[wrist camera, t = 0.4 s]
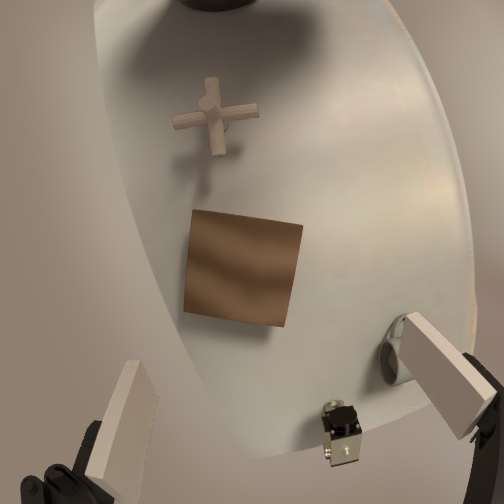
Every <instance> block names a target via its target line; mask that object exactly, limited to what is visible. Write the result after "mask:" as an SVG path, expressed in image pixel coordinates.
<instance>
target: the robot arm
mask: <svg viewBox="0 0 504 504" xmlns="http://www.w3.org/2000/svg"><path fill="white" fill-rule="evenodd" d="M252 1H254V0H181V2H182V3H183V4H185V5H186V6H188V7H190V8H193V9H196V10H201V11H224V10H230V9H234V8H238V7H241V6H244V5H246V4H248V3H250V2H252ZM398 357H399V359H400V360H401V361H402V362H403V364H404V365H405V366H406V368H407V369H408V370H409V372H410V373H411V374H412V376H413V377H414V378H415V380H416V381H417V382H418V384H419V385H420V386H421V388H422V389H423V390H424V392H425V393H426V395H427V396H428V397H429V399H430V400H431V401H432V403H433V404H434V406H435V407H436V408H437V410H438V411H439V413H440V414H441V415H442V417H443V418H444V420H445V421H446V422H447V424H448V425H449V427H450V428H451V430H452V431H453V433H454V434H455V436H456V437H457V439H458V440H460V439H462V438H463V437H465V436H466V435H468V434H469V433H471V432H472V430H473V429H474V427H475V426H476V425H477V426H478V427H479V429H478V430H477V432H476V433H475V434H474V436H473V437H472V438H471V441H470V443H472V442H473V441H474V439H475V438H476V441H475V450H474V457H473V464H472V468H471V474H470V478H469V483H468V487H467V491H466V495H465V499H464V502H463V504H504V387H503V386H502V385H501V384H500V383H499V382H498V381H497V380H496V379H495V378H494V377H493V376H492V374H491V373H490V372H489V371H488V370H486V368H485V367H484V366H483V365H481V363H480V362H479V361H478V360H477V359H475V357H473V356H472V355H470V354H468V353H466V352H465V353H463V354H461V353H460V352H459V351H458V350H457V349H456V348H455V347H454V346H453V345H452V344H451V343H450V342H449V341H447V340H446V339H445V338H444V337H443V336H442V335H441V334H440V333H439V332H438V331H437V330H436V329H435V328H434V327H433V326H432V325H431V324H430V323H429V322H428V321H427V320H425V319H424V318H423V317H422V316H421V315H420V314H419V313H418V312H415V313H412V314H408V315H406V316H405V322H404V328H403V333H402V338H401V343H400V348H399V352H398ZM157 402H158V396H157V394H156V392H155V390H154V388H153V386H152V384H151V382H150V380H149V377H148V375H147V373H146V371H145V369H144V367H143V364H142V362H141V360H127V361H126V363H125V365H124V368H123V370H122V373H121V375H120V377H119V380H118V382H117V385H116V387H115V390H114V392H113V395H112V397H111V400H110V402H109V405H108V408H107V410H106V413H105V416H104V418H103V421H96V420H95V421H94V422H93V423H92V424H91V425H90V426H89V427H88V428H87V431H86V433H85V436H84V439H83V441H82V444H81V445H82V446H81V447H80V449H79V452H78V455H77V458H76V461H75V464H74V466H73V469H72V471H71V470H69V469H68V468H67V467H66V466H64V465H62V464H54V465H52V466H50V467H48V469H47V470H46V471H45V474H44V482H43V481H41V480H40V479H39V478H37V477H36V476H32V475H30V476H27V477H25V478H24V479H23V481H22V482H21V487H20V489H21V503H22V504H114V499H116V500H117V501H119V502H120V503H122V504H138V503H139V497H140V490H141V484H142V478H143V471H144V466H145V461H146V456H147V450H148V445H149V440H150V435H151V430H152V425H153V421H154V416H155V411H156V407H157Z"/></svg>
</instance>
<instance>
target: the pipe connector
mask: <svg viewBox="0 0 504 504" xmlns="http://www.w3.org/2000/svg"><path fill="white" fill-rule="evenodd" d="M204 89H205V96H203V97H201V98H200V99H199V101H198V106H199V108H200V109H201V111H198V112H193V113H188V114H183V115H178V116H174V117H173V118H172V123H173V127H174V129H175V130H179V129H184V128H189V127H195V126H200V125H206V124H208V133H209V143H210V152H211V157H221V156H225V155H227V154H226V145H225V136H224V131H225V130H226V129H227V128H228V123H227V121H232V120H240V119H248V118H257V117H259V116H258V108H257V103H252V104H244V105H236V106H229V107H222V108H221V98H220V88H219V78H217V77H208V78H206V79H204Z"/></svg>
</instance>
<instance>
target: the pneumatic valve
mask: <svg viewBox="0 0 504 504" xmlns="http://www.w3.org/2000/svg"><path fill="white" fill-rule="evenodd" d="M322 426H323V446H324V452H325V457H326V459H330V464H331V467H334V466H339V465H343V464H347V463H351V462H355V461H358V460H359V452H360V444H361V435H362V430H361V427H360V424H359V421H358V418H357V412H356V411H355V410H354V408H353V406H344V402H343V401H342V400H340V401H337V400H335V401H332V402H331V403H330V404H329V403H327V404H325V416H324V417H322Z"/></svg>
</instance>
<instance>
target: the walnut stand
mask: <svg viewBox="0 0 504 504" xmlns="http://www.w3.org/2000/svg"><path fill="white" fill-rule="evenodd" d="M302 231H303V225H299V224H293V223H286V222H280V221H274V220H267V219H260V218H254V217H247V216H240V215H233V214H226V213H218V212H211V211H203V210H196V209H194V210H193V211H192V220H191V228H190V238H189V248H188V259H187V270H186V283H185V297H184V312H189V313H194V314H200V315H205V316H211V317H217V318H222V319H229V320H235V321H241V322H248V323H255V324H262V325H269V326H277V327H284V325H285V320H286V315H287V310H288V306H289V301H290V296H291V291H292V286H293V280H294V275H295V270H296V265H297V259H298V254H299V248H300V242H301V237H302Z"/></svg>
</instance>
